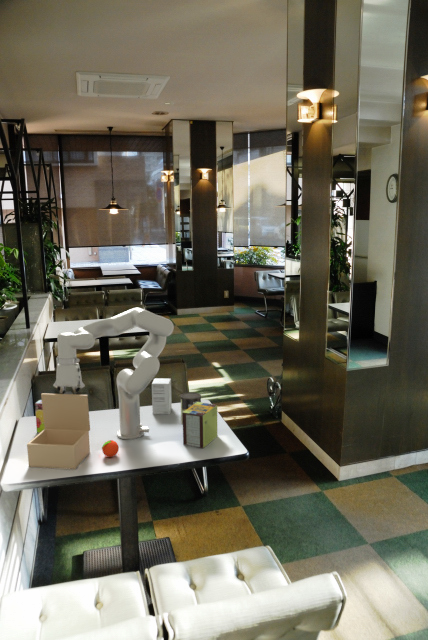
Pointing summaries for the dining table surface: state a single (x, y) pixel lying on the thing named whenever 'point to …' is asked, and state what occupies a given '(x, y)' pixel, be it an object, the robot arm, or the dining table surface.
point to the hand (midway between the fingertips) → (69, 400)
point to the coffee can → (188, 401)
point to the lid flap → (65, 411)
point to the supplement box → (161, 396)
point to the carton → (58, 449)
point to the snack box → (39, 416)
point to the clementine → (110, 448)
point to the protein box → (199, 424)
